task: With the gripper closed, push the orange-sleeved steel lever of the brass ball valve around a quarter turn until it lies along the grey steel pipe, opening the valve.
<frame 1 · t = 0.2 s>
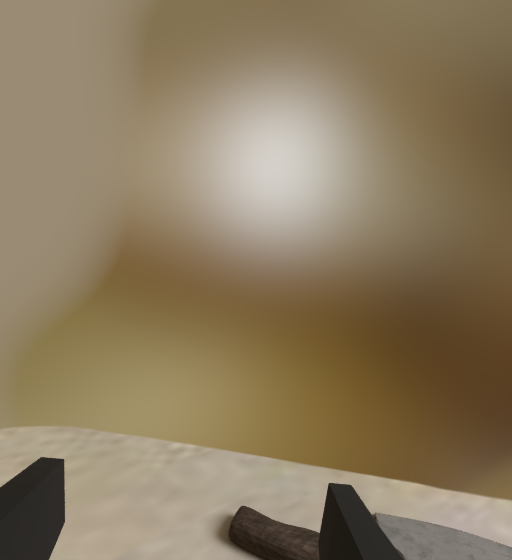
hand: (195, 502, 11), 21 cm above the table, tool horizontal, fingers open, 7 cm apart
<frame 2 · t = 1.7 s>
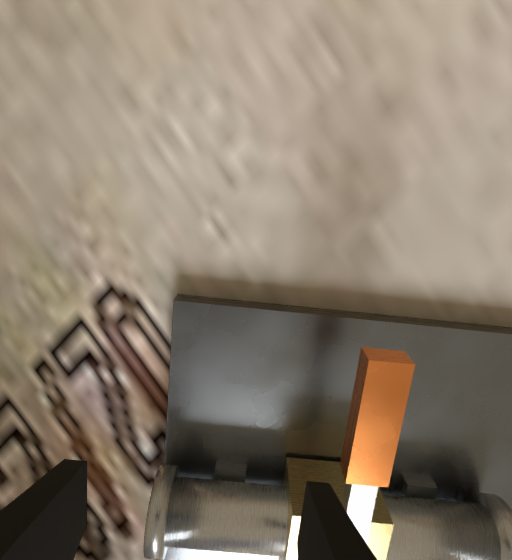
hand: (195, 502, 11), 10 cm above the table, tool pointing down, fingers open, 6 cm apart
lever: (360, 491, 16), point 6 cm above the table, hinge at 0.0°
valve: (319, 480, 23), on the table
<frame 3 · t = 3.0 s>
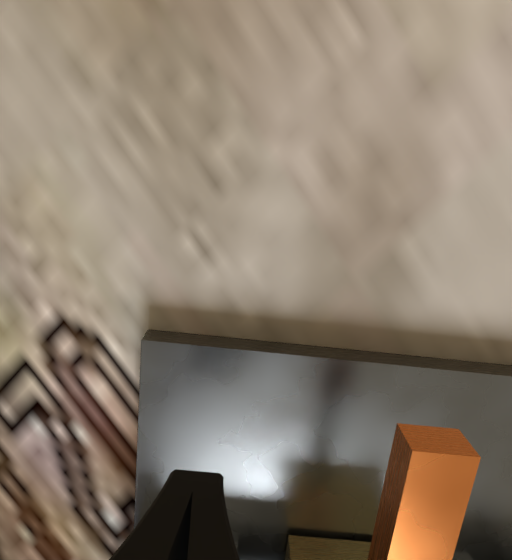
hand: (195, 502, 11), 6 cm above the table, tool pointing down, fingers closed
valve: (329, 556, 19), on the table
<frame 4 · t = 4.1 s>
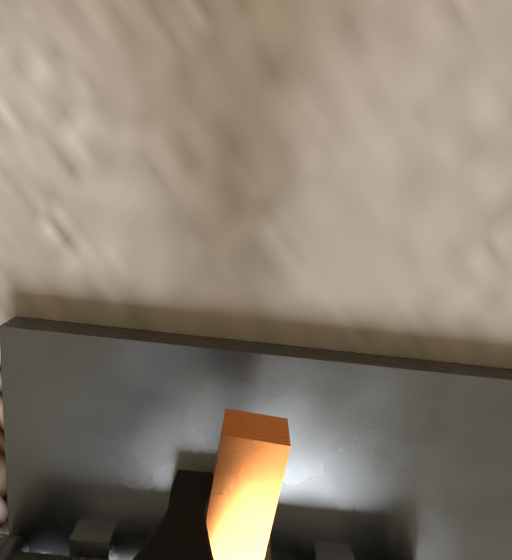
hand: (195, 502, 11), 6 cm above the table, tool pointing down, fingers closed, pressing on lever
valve: (214, 548, 19), on the table
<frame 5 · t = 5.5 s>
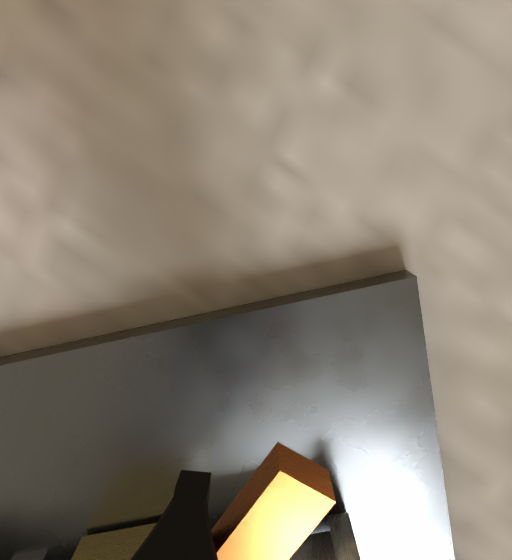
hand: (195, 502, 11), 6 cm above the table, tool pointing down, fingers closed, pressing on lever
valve: (156, 544, 19), on the table
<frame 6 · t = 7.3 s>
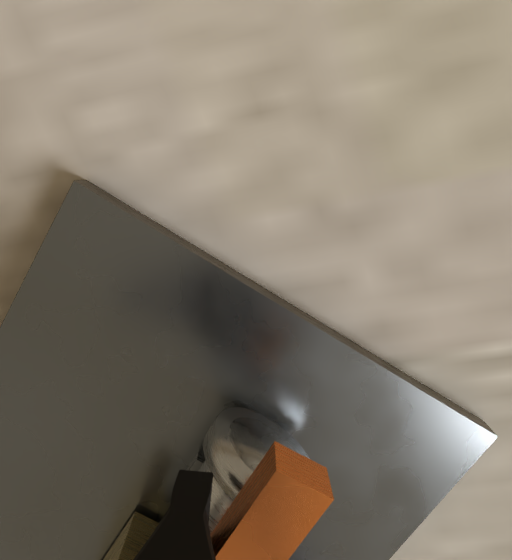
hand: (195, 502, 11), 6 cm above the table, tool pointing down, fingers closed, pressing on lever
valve: (163, 546, 19), on the table
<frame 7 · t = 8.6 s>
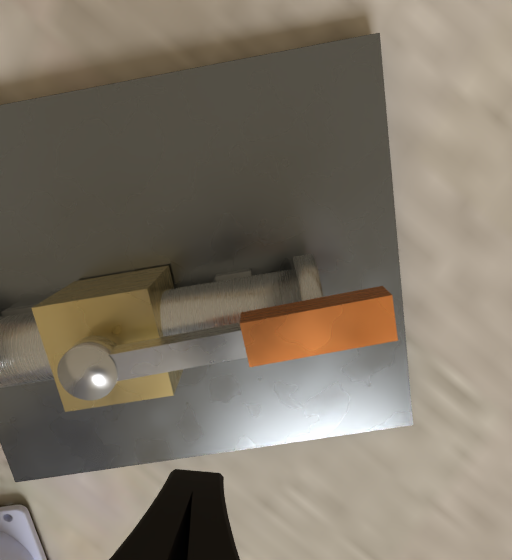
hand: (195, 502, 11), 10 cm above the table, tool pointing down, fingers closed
lever: (224, 343, 15), point 6 cm above the table, hinge at 88.4°
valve: (140, 309, 21), on the table
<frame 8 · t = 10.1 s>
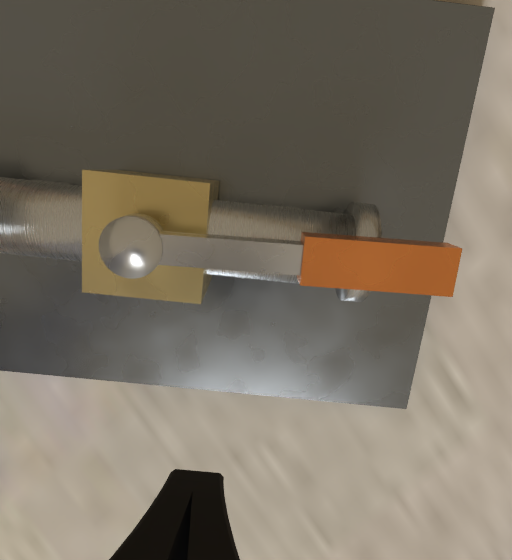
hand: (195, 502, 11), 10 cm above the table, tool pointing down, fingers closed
lever: (278, 256, 14), point 6 cm above the table, hinge at 88.4°
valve: (171, 222, 20), on the table
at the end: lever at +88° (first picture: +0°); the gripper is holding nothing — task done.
